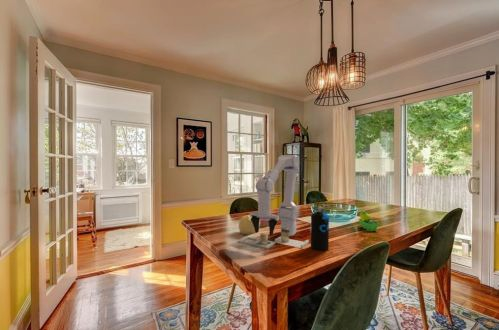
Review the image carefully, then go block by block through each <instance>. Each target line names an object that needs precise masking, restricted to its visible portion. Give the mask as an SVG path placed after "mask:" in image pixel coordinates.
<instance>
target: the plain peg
mask: <svg viewBox="0 0 499 330" xmlns="http://www.w3.org/2000/svg"><path fill="white" fill-rule="evenodd" d="M281 232H282V234H281V236H282V237H281V241H282V242H289V239H290V236H289V228H281V227H280V233H281Z"/></svg>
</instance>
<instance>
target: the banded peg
mask: <svg viewBox="0 0 499 330" xmlns="http://www.w3.org/2000/svg"><path fill="white" fill-rule="evenodd" d="M259 239H260V243H259V244H260V245H265V246H267V245H268V244H269V243H268V241H269V240H268V239H269V234H268V233H264V232H263V233H260V234H259Z"/></svg>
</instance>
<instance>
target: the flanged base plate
mask: <svg viewBox="0 0 499 330" xmlns="http://www.w3.org/2000/svg"><path fill="white" fill-rule="evenodd" d="M281 237H282V235H280V236H278V237H277V238H275V239H274V242H276V244H278V245H279V244H280V245H286V246H289V247H290V246H291V247H295V248H300V249H304V248H305V247H306V246H308V244H310V240H309V239H306V240H304V241H302V240H296V239H291V238H289V242H282V241H281Z"/></svg>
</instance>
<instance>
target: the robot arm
mask: <svg viewBox="0 0 499 330" xmlns="http://www.w3.org/2000/svg"><path fill="white" fill-rule="evenodd" d="M299 168H300V159H299V156H298V155H297V154H293V155H292V154H287V155H283V154H281V155H279V157H278V158H277V163H276V164H275V166H274V167H273V169H268V170H267V173H266V174H265V175H264V176H263V177H262V178H260V179H258V180H257V181H256V183H255V189H256V194H257V197H258V198H257V211H256V212H254V211H252V212H249V214H250V217H252V218H251V221H252V223H253V225H254V229H255V233H254V234H257V233H259V231H260V229H259V228H260V227H259V220H260V218H265V219H271V220H269V221H268V222H269V227H268V228H269V231H268V232H269V234H268V235H269V236H271V237H272V235H274V231H275V228H276V225H277V224H278V222H279V220H280V229H281V228H289V237H292V236H294V235H295V234H297V221H296V220H297V219H298V217H299V210H298V209H299V207H298V206H297V205H296V203H294V198H295V189H296V180H297V172H298V171H299ZM282 171H285V172H286V178H285V188H284V197H283V198H284V199H283V201H282V202H281V203H279V208H278V210H277V214H274V213H273V214H272V213H271V193H272V191H273V189H274V185H275V183H276V181H277V180H278V179H279V177H280V175H279V174H280V173H281V172H282ZM280 234H281V235H282V232H281V231H280Z"/></svg>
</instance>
